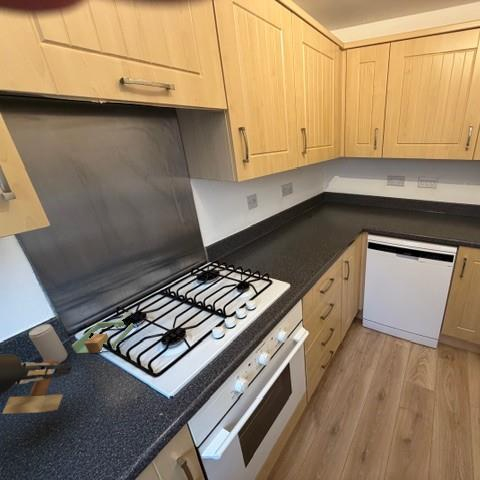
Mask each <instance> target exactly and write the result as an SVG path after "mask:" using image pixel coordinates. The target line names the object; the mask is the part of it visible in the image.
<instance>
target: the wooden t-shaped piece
mask: <svg viewBox="0 0 480 480" xmlns="http://www.w3.org/2000/svg"><path fill="white" fill-rule="evenodd" d="M41 363H50V365H55V364H57V363H58V360H44V359H43V360H42V362H41ZM52 379H53V378H49V379H44V380H38V381H33V385H32V387H31V390H30V392H29V394H28V395H18V396H16V395H15V396H9V397H8V400H7V401H6V403H5V407H4V408H3V411H2V413H1V414H2V415H6V414H7V415H8V414H33V413H45V412H51V411H59V407H60V404H61V401H62V399H63V396H64V394H63V393H60V394H59V393H58V394H55V393H54V394H47V391H48V389H49V387H50V384H51V382H52Z"/></svg>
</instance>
